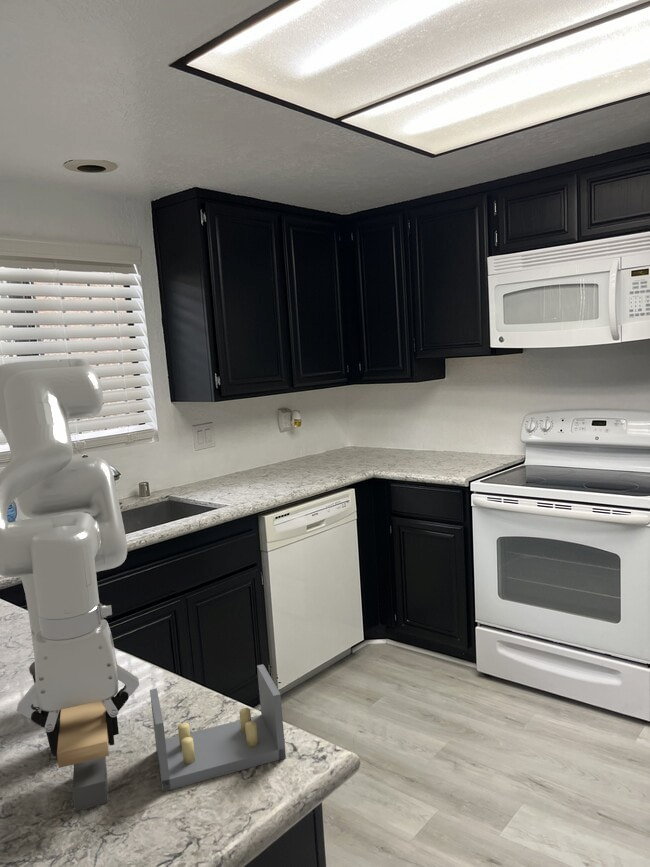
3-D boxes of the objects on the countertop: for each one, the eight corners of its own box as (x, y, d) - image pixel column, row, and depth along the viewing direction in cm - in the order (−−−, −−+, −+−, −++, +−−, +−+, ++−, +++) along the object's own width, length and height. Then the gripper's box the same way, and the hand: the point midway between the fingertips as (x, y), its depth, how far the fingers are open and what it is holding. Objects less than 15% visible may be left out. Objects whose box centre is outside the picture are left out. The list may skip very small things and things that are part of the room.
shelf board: (63, 717, 93) (61, 704, 93) (107, 707, 95) (105, 694, 95) (58, 768, 82) (56, 753, 81) (108, 755, 84) (107, 741, 83)
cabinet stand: (156, 750, 96) (149, 689, 95) (268, 722, 101) (263, 664, 100) (162, 791, 86) (155, 724, 85) (285, 757, 92) (280, 694, 91)
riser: (76, 775, 91) (74, 755, 91) (106, 767, 93) (104, 748, 92) (75, 811, 84) (72, 789, 83) (107, 802, 85) (105, 781, 85)
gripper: (136, 598, 92) (149, 716, 95) (2, 622, 87) (19, 746, 89) (140, 619, 85) (153, 745, 88) (-6, 646, 80) (13, 780, 82)
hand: (85, 744), depth 88 cm, fingers closed on shelf board, 6 cm apart
